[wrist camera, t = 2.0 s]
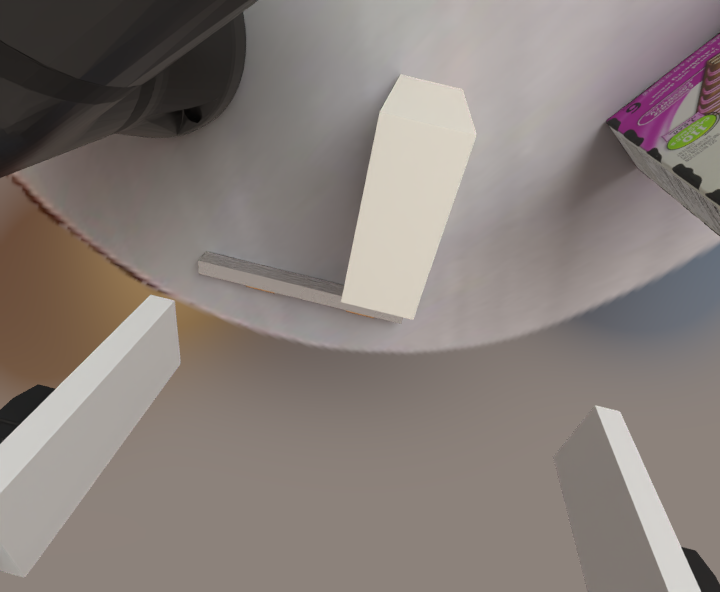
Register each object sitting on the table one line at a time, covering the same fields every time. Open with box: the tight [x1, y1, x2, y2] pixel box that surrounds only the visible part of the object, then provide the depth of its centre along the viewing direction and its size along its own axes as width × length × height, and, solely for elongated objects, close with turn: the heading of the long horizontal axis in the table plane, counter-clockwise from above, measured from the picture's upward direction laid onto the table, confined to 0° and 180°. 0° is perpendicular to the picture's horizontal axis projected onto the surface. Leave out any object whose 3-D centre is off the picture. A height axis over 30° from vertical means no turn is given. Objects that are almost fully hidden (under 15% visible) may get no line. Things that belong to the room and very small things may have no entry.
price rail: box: [198, 252, 403, 324], centre depth 40 cm, size 20×2×2 cm, turn 79°
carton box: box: [341, 74, 477, 320], centre depth 27 cm, size 5×11×13 cm, turn 169°
